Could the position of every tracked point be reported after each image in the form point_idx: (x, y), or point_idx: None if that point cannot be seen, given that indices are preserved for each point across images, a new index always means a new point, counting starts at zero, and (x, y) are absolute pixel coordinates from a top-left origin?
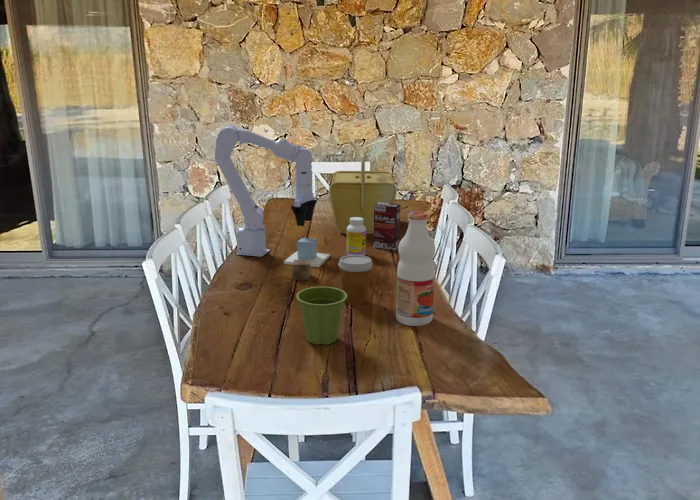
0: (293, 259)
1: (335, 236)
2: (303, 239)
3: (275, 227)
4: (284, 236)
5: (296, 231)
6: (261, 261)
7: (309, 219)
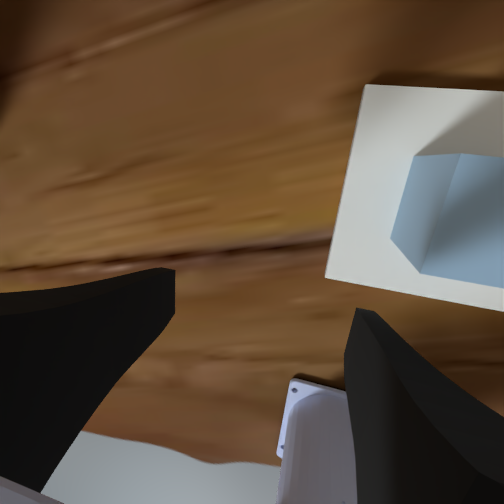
0: None
1: (25, 147)
2: (481, 260)
3: None
4: None
5: None
6: None
7: (167, 283)
